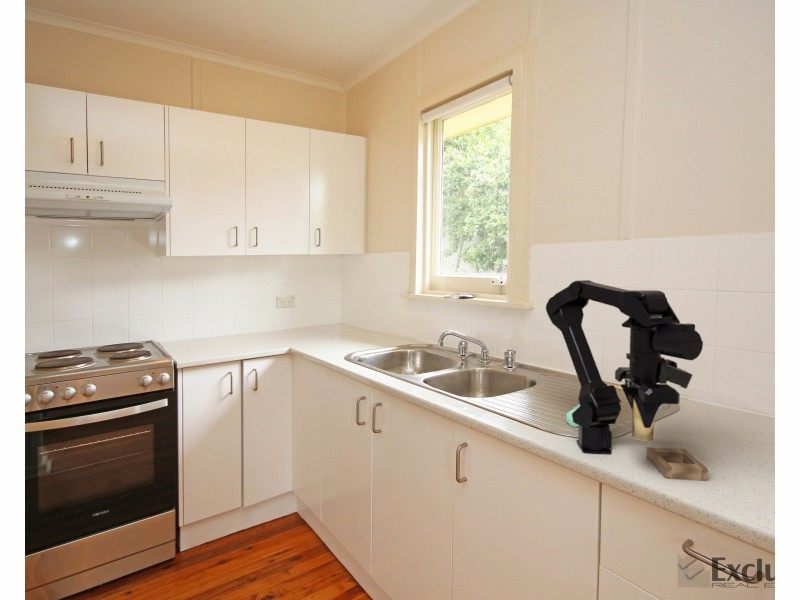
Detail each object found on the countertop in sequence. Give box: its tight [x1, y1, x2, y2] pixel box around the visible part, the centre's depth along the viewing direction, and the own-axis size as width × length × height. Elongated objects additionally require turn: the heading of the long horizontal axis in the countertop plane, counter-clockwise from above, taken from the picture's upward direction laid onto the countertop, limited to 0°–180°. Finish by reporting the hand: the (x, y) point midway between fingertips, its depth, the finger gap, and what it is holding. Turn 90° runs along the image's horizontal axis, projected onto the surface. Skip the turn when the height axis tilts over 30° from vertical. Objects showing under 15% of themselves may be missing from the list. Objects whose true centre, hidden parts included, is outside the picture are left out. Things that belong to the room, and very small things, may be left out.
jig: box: [646, 446, 709, 482], centre depth 97 cm, size 8×10×2 cm
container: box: [566, 403, 580, 428], centre depth 131 cm, size 6×6×25 cm
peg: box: [631, 398, 655, 442], centre depth 94 cm, size 4×4×8 cm
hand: (643, 423), depth 95 cm, fingers closed on peg, 4 cm apart
